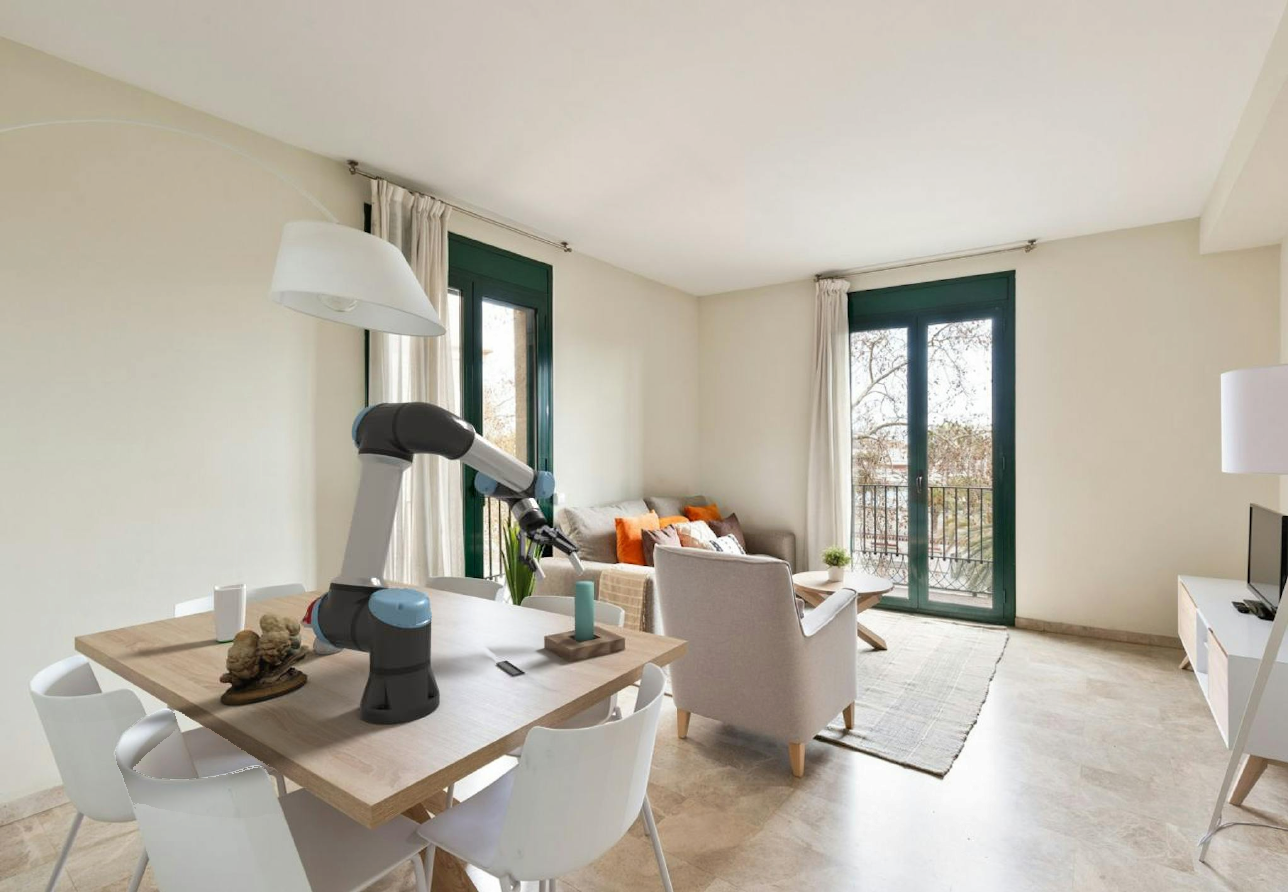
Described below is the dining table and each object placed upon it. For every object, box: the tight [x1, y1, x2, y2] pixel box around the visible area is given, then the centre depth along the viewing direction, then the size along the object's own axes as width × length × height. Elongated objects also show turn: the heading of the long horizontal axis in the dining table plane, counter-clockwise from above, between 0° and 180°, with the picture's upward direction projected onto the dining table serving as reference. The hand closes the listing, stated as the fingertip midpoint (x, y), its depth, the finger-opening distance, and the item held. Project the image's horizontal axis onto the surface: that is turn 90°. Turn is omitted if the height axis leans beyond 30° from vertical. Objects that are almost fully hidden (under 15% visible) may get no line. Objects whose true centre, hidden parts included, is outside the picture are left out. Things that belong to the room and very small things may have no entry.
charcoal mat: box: [496, 660, 527, 677], centre depth 149 cm, size 10×10×1 cm
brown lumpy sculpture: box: [219, 612, 310, 707], centre depth 135 cm, size 18×12×17 cm, turn 150°
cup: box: [213, 583, 247, 643], centre depth 172 cm, size 7×7×15 cm
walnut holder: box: [543, 625, 626, 663], centre depth 159 cm, size 16×14×4 cm
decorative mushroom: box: [299, 595, 344, 655], centre depth 162 cm, size 14×14×15 cm
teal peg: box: [574, 580, 595, 642], centre depth 159 cm, size 5×5×17 cm
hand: (562, 576), depth 166 cm, fingers open, 13 cm apart
